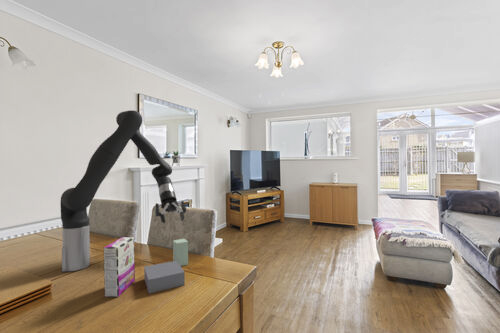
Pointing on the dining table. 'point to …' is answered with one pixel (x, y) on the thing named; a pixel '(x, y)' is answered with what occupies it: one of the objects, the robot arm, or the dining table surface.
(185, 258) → the sage block
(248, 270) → the dining table surface
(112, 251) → the candy bar box
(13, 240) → the dining table surface
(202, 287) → the dining table surface
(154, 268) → the base block
